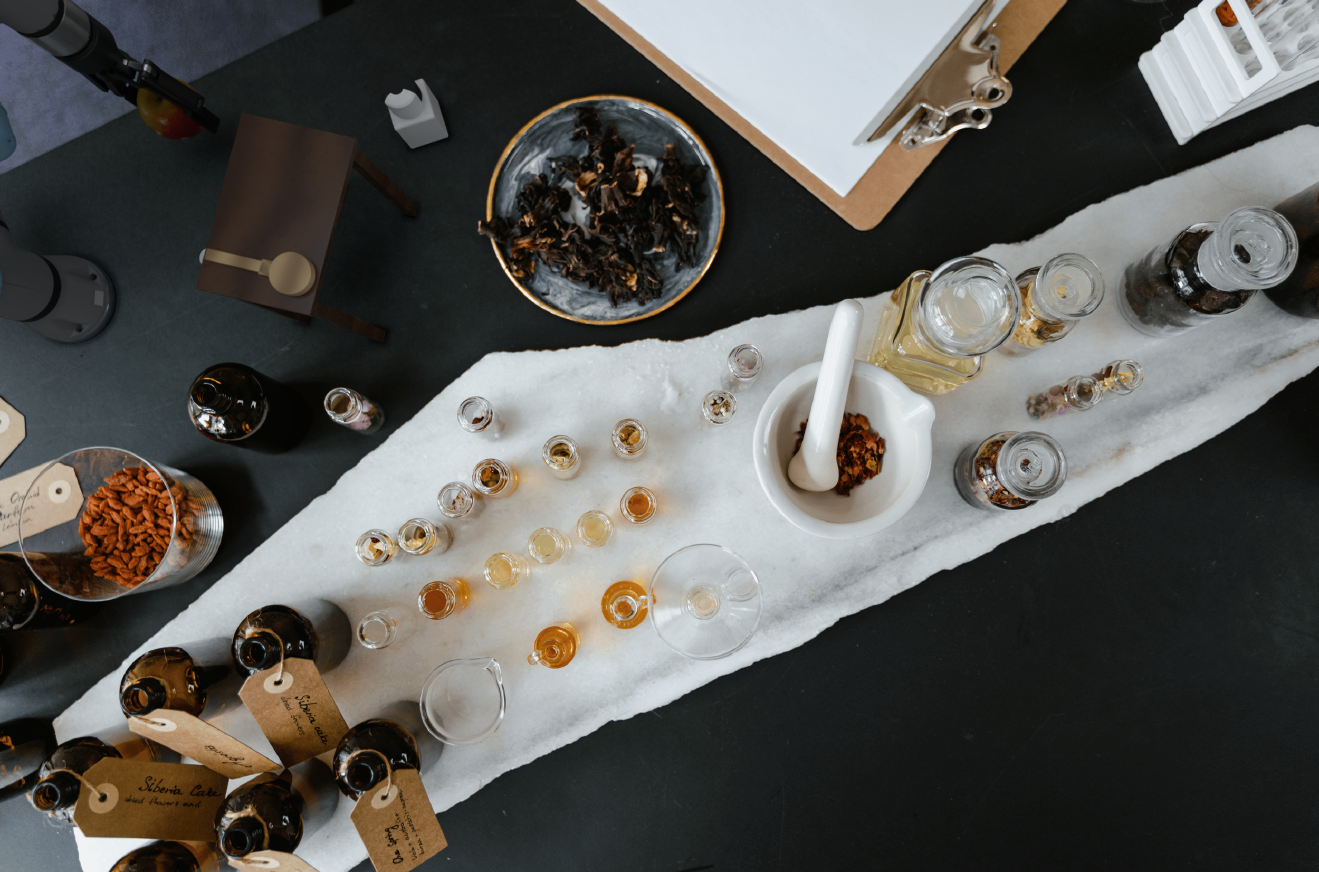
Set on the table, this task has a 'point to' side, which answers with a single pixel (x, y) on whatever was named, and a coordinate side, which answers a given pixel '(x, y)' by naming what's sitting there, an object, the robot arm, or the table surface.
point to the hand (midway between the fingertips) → (188, 119)
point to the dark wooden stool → (287, 213)
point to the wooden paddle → (273, 269)
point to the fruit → (166, 116)
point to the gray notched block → (413, 109)
